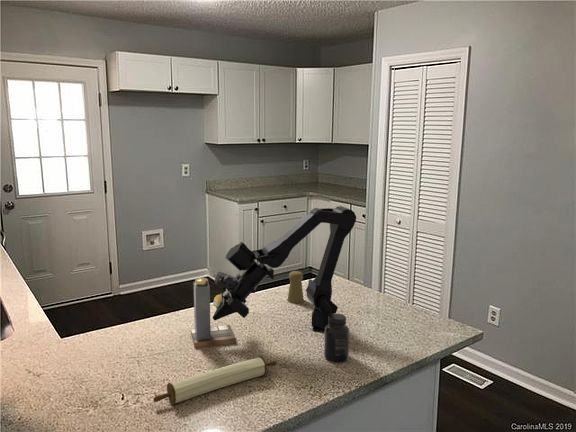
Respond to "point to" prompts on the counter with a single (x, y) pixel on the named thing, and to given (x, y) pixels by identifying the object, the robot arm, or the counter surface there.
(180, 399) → the rolling pin
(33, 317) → the counter surface
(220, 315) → the robot arm
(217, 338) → the board
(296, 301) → the cork
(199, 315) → the grey square pillar
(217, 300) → the bread roll
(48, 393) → the counter surface
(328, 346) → the supplement bottle
